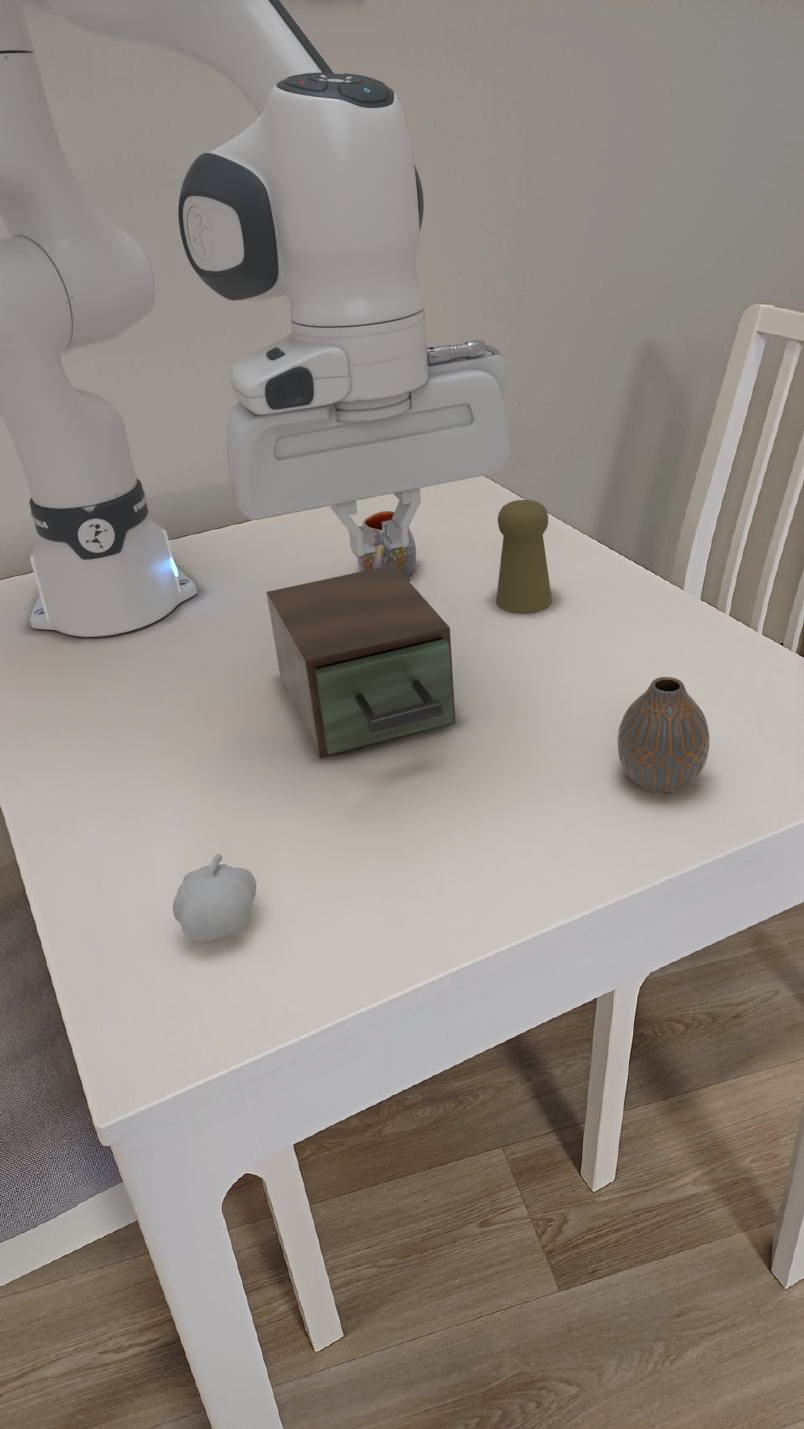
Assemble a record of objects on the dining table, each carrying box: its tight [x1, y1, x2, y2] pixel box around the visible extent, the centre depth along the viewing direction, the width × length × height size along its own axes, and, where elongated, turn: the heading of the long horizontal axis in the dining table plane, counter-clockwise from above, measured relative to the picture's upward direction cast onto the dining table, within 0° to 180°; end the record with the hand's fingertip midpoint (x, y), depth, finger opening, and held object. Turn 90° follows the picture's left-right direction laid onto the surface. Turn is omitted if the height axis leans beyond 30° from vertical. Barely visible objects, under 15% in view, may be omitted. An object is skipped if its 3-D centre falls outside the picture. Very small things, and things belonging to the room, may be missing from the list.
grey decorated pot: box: [356, 510, 417, 578], centre depth 113 cm, size 12×7×7 cm, turn 171°
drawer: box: [314, 639, 454, 755], centre depth 87 cm, size 19×11×8 cm, turn 19°
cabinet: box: [266, 565, 456, 759], centre depth 90 cm, size 15×13×10 cm
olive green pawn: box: [495, 499, 553, 614], centre depth 105 cm, size 6×6×11 cm
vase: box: [617, 676, 711, 794], centre depth 77 cm, size 7×7×9 cm
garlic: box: [172, 853, 257, 944], centre depth 68 cm, size 6×5×5 cm
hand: (380, 549), depth 74 cm, fingers closed
